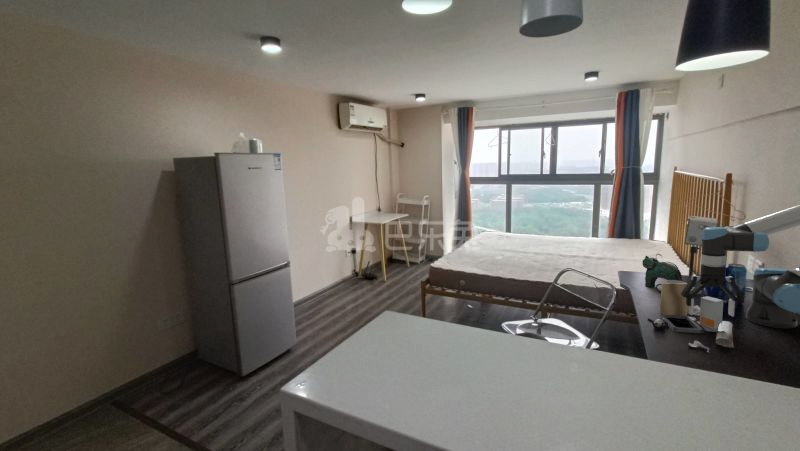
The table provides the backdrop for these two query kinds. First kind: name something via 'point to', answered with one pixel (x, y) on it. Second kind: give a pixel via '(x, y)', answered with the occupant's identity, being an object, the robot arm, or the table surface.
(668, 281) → the coffee mug
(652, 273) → the ceramic cat
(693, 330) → the grey picture frame
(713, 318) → the skincare box
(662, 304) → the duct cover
